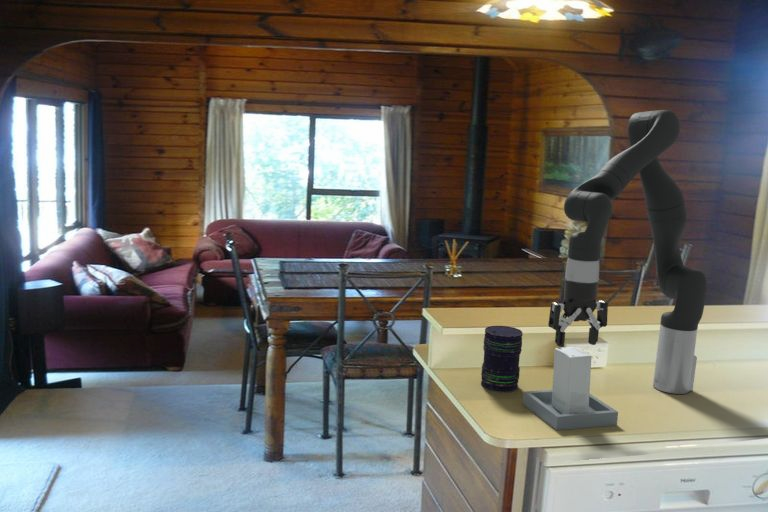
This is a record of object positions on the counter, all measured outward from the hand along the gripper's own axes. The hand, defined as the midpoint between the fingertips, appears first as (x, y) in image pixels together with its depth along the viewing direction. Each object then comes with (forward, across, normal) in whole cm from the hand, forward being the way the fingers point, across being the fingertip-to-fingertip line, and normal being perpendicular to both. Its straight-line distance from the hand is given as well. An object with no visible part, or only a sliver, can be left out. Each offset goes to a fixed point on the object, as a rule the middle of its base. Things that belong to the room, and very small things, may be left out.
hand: (576, 345), depth 174 cm
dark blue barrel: (+17, +8, -21) cm, 29 cm away
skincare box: (+17, 0, 0) cm, 17 cm away
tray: (+17, 0, 0) cm, 17 cm away
